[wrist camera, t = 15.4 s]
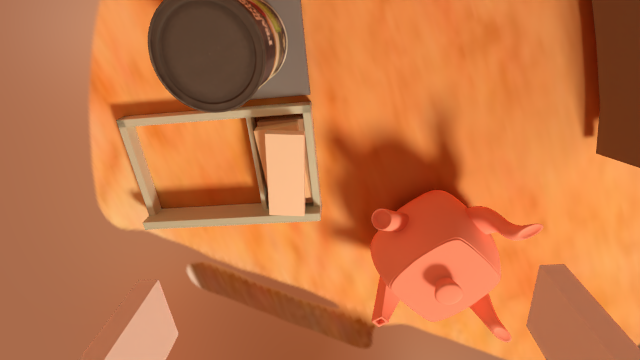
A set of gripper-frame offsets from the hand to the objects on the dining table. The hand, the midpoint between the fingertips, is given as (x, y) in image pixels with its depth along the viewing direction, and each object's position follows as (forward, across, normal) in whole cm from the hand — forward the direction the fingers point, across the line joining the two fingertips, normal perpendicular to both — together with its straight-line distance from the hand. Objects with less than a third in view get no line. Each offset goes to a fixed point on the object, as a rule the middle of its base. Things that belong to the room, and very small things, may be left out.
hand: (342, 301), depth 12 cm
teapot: (+37, +12, -22) cm, 45 cm away
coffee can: (+36, -11, +7) cm, 39 cm away
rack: (+37, -17, -9) cm, 41 cm away
